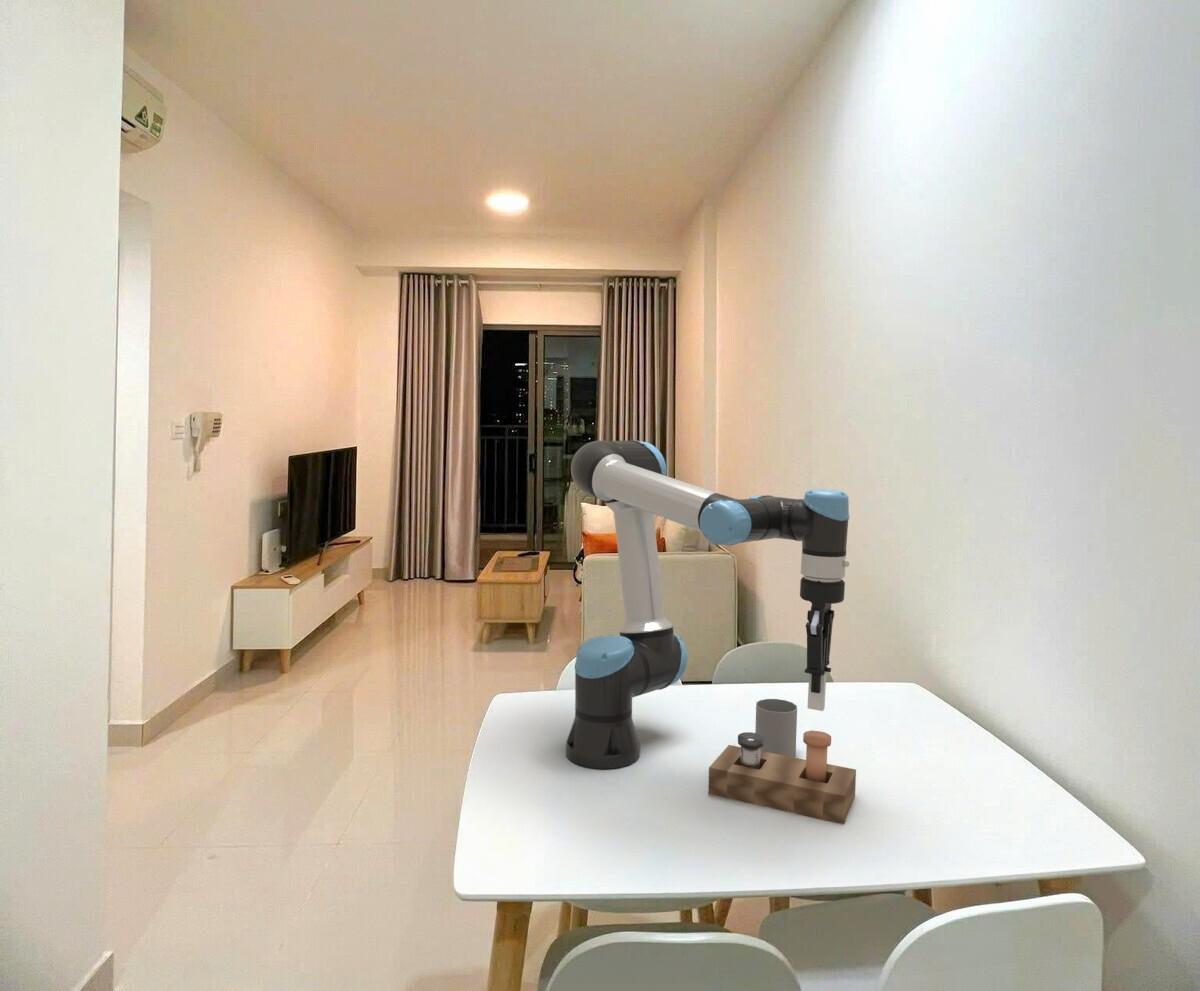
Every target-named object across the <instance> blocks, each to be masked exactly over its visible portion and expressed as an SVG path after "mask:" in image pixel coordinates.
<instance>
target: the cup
mask: <svg viewBox="0 0 1200 991" xmlns="http://www.w3.org/2000/svg"><path fill="white" fill-rule="evenodd" d="M755 703H756V704H755V732H754V733H757V734H760V735H762V736H763V737H764V746H763V747H761V751H763V752H768V753H773V754H779V755H784V756H789V757H794V758H796V756H797V753H796V752H797V731H798V730H797V728H798V727H797V724H798V706H797V705H796V703H794V702H793V701H788V700H786V699H778V698H764V699H760V700H758V701H756V702H755Z"/></svg>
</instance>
